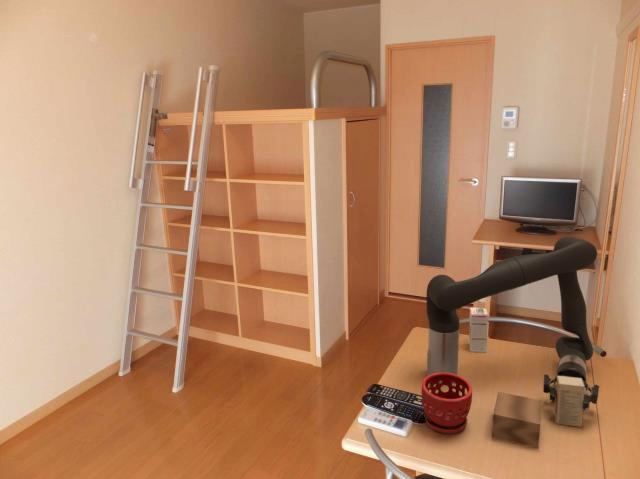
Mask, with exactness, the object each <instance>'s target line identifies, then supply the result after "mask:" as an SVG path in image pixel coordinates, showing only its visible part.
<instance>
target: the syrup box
mask: <svg viewBox="0 0 640 479" xmlns="http://www.w3.org/2000/svg"><path fill="white" fill-rule="evenodd" d="M488 319H489V314H488V310H487V308H485V307H470V308H469V320H468V321H469V322H468V324H469V325H468V328H469V329H468V347H469V348H468V349H469V351H470V352H472V353H487V352H488V351H487V349H488V326H489V325H488V323H489V322H488V321H489V320H488Z"/></svg>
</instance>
